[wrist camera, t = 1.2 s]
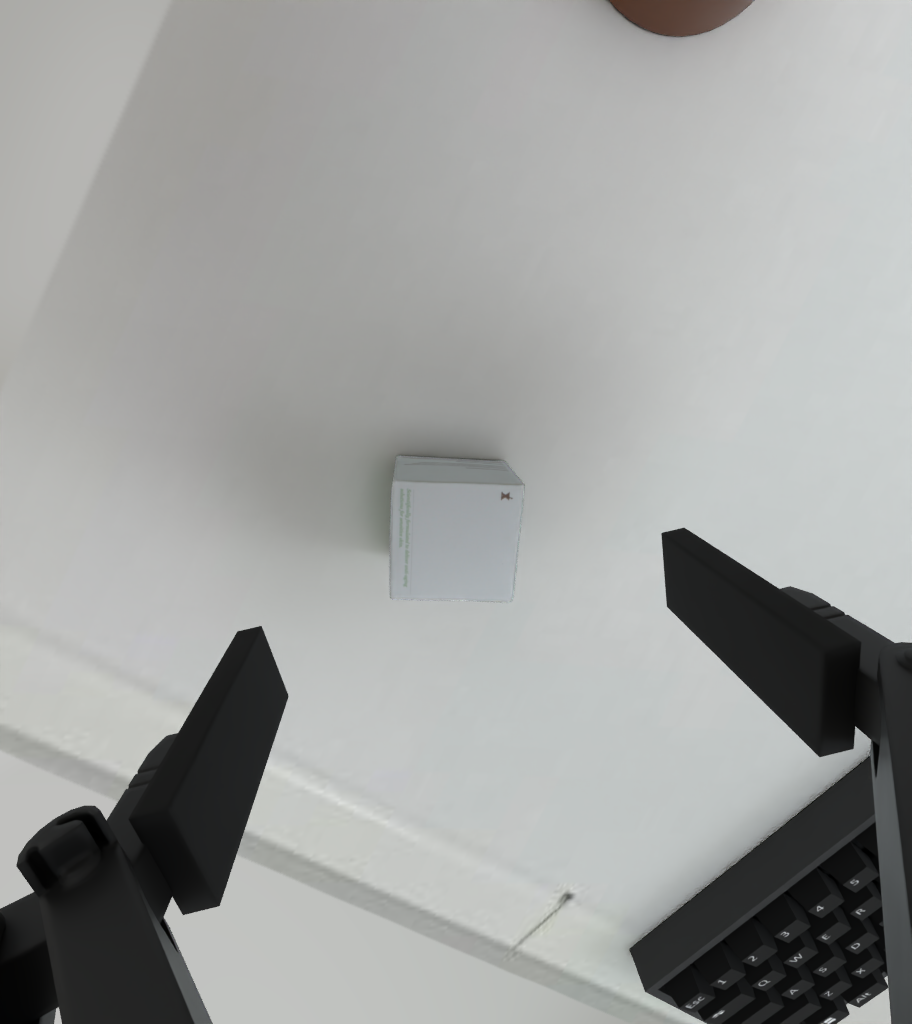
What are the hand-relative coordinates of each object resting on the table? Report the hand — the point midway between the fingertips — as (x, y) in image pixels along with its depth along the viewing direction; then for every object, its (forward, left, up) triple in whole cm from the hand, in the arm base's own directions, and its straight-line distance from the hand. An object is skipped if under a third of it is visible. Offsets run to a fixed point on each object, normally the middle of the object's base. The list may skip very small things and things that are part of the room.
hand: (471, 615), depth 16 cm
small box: (0, 0, -11) cm, 11 cm away
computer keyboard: (+31, +29, -11) cm, 44 cm away
